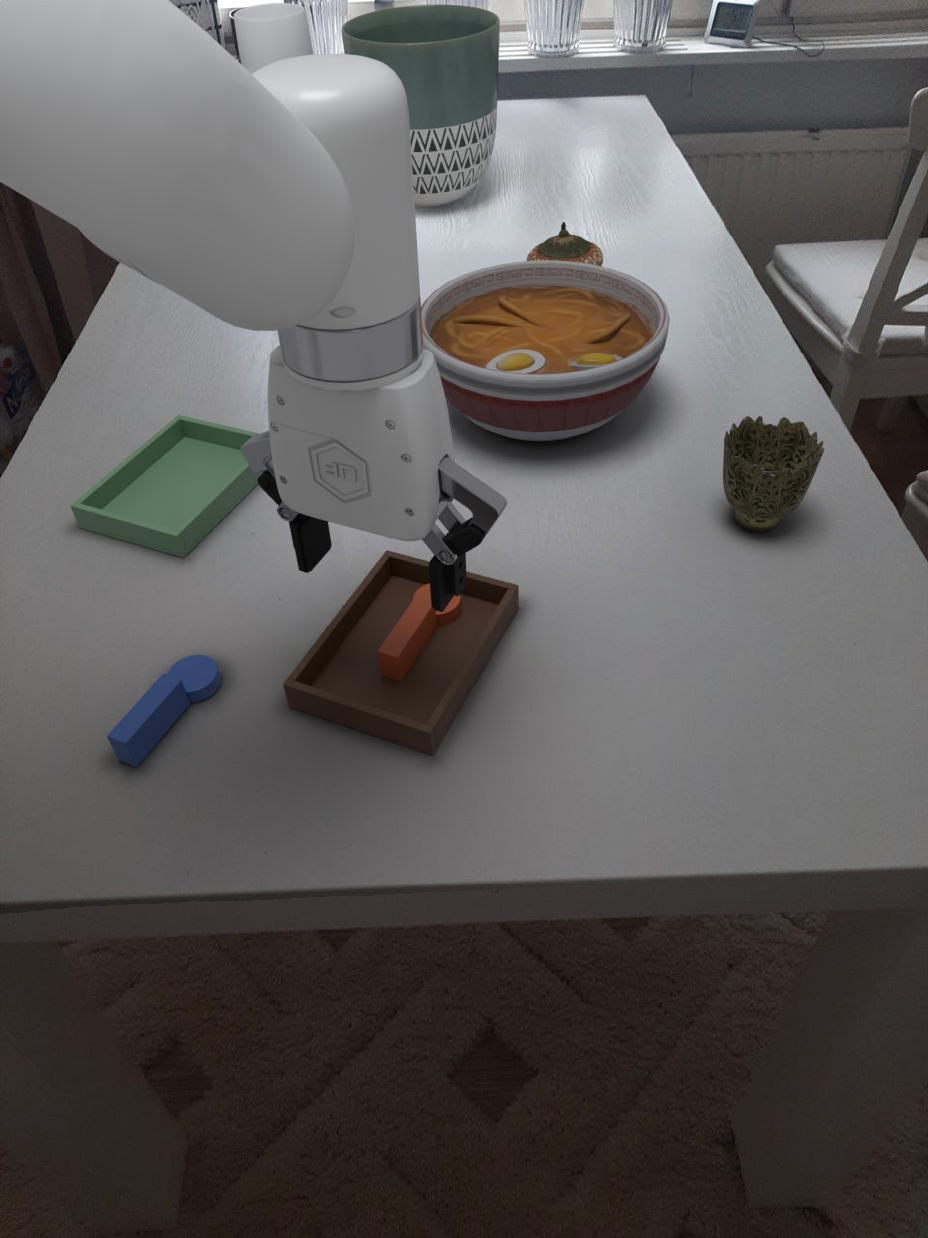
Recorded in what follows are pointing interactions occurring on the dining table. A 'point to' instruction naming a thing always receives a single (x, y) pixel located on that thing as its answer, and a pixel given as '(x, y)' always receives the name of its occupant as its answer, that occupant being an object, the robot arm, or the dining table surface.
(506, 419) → the bowl
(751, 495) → the decorative vase
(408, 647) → the terracotta spoon
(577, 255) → the acorn
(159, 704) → the blue spoon
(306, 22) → the cup
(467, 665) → the tray
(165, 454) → the green tray
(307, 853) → the dining table surface
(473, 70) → the planter
